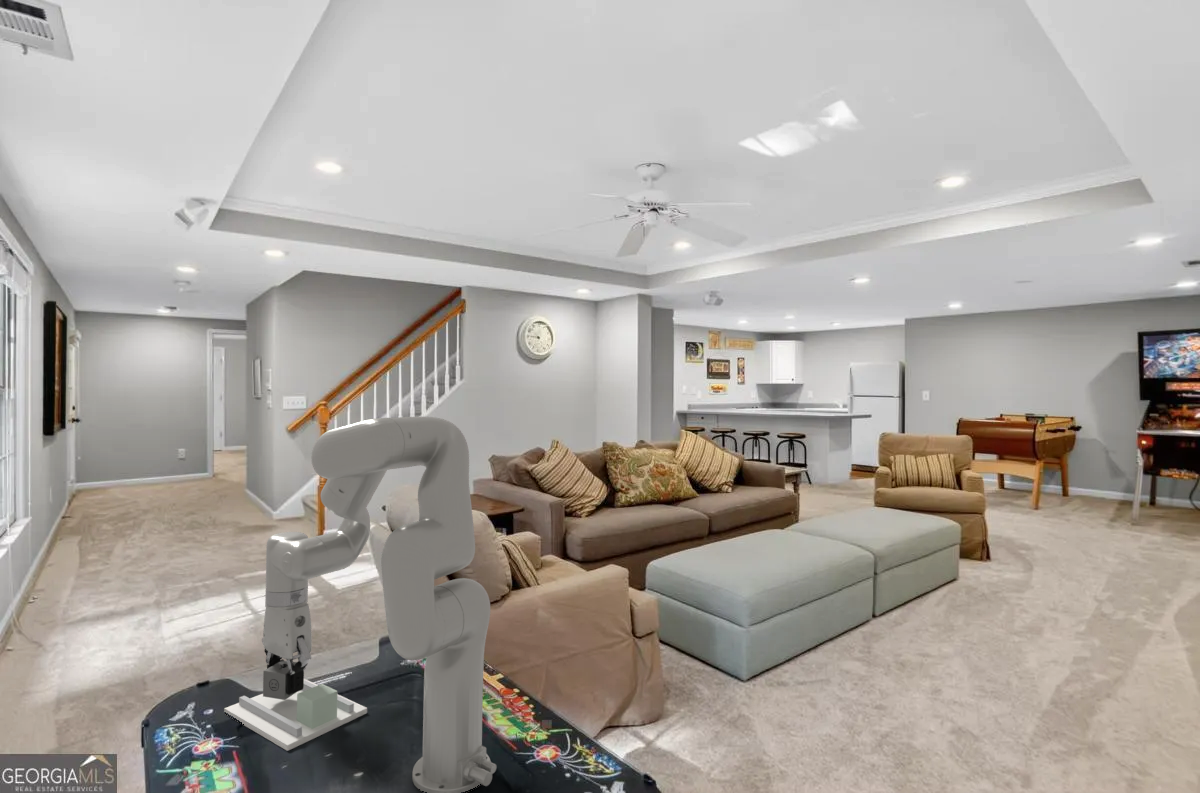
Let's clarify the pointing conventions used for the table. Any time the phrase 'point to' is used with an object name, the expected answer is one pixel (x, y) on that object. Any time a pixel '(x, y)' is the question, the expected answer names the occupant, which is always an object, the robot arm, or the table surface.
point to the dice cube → (276, 681)
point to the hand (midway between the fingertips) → (284, 686)
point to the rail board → (296, 714)
